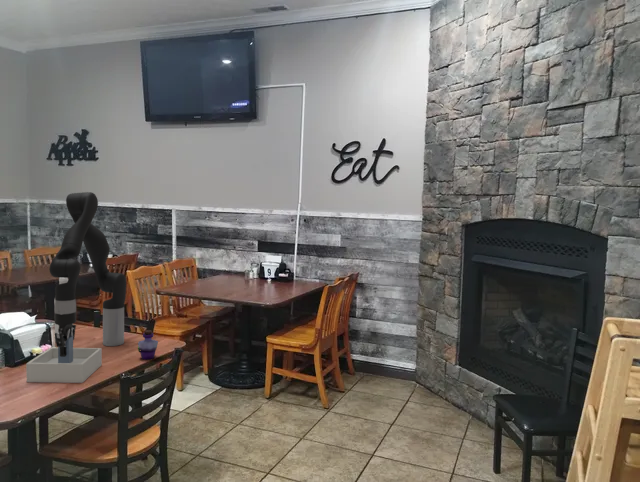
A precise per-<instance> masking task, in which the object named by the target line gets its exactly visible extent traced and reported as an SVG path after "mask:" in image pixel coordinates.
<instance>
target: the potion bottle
mask: <svg viewBox="0 0 640 482" xmlns="http://www.w3.org/2000/svg"><path fill="white" fill-rule="evenodd" d="M153 337H154V333H153V331H152V330H150V329H146V330H144V332H143V333H142V338H144V339H142V340H139V341H138V343H137V350H138V353H140V357H141V359H140V360H144V361H152V360H154V359H155V354H156V351H157V348H158V345H159V344H158V343H159V341H158V340H156V339H153Z"/></svg>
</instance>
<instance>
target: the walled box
mask: <svg viewBox="0 0 640 482" xmlns="http://www.w3.org/2000/svg"><path fill="white" fill-rule="evenodd" d="M102 349H103V348H101V347H73V362H71V363H58V347H57V346H56V347H50V348H48V349H46V350H45V351H43V352H42V353H40V354H39V355H37V356H35V357H33V359H31V360H29V361H28V362H27V363H26V364H25V368H26V383H72V384H73V383H74V384H75V383H76V384H82V383H84V382H85V381H86V380H87V379H88V378H89V377H91V375H93V374H94V373H95V372H96V371H97V370H98V369H99V368H100V367H102V365H103V364H102V361H103V358H102V354H103V353H102Z"/></svg>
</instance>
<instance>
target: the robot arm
mask: <svg viewBox="0 0 640 482" xmlns="http://www.w3.org/2000/svg"><path fill="white" fill-rule="evenodd" d="M98 200H99V199H98V197H97V195H96V194H95V193H94V192H89V191H85V192H83V191H82V192H73V193H72V192H71V193H69V194H68V195H67V196H66V199H65V203H66V204H65V205H66V208H67V210H68V212H69V215H70V217H71V218H72V220H73V223H74V224H73V225H72V226H70V228H69V229H68V230H67V231H66V233H65V235H64V236H63V240H62V242H61V245H60V248H59V250H58V252H57V253H56V255H55V256H54V258H53V259H52V261H51V262H50V265H49V274H50V276H52V277H54V278H58V279H59V278H68V282H67V283H62V284H59V283H58V284H57V285H56V286H55V287H54V293H55V294H54V296H55V297H54V300H55V310H54V325H55V324H58V325H59V329H58V333H55V332H54V335H55V337H54V341H55V340H56V341H55V344H56V345H55V346H56V347H57V348H58V347H60V356H61V357H65V356H66V345H67V341H68V338H69V336H73V341H74V340H75V335H76V329H77V325H75V324H76V322H77V300H76V288H77V283H78V278H79V276H80V273H81V270H82V269H81V263H80V262H79V261H78V260H77V259H76V258H78V257H79V256H80V253H81V251H82V250H81V249H82V246H83V245H84V247H85V250H86V252H87V254H88V257H89V259H90V263H91V265H92V267H93V270H94V274H95V277H96V281H97V284H98V287H99V289H100V290H101V291H102V292H104V293H111V294H112V297H111V298H109V299H106V300H104V301H102V345H103V346H107V347H117V346H121V345H124V343H125V303H126V298H127V297H126V296H127V295H126V293H127V278H126V276H125V274H123V273H121V272H110V271H109V269H108V266H107V260H108V257H109V254H110V246H109V245H110V244H109V243H108V239H107V238H106V237H107V236H106V235H105V234H104V233H103V232H102V230H100V229H99V228H98V227H97V226H95V225H94V224H93V223H92V222H93V220H94V219H95V218H94V217H95V215H96V213H97V211H98V208H99V201H98ZM72 324H73V325H72ZM63 338H65V339H63Z"/></svg>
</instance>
